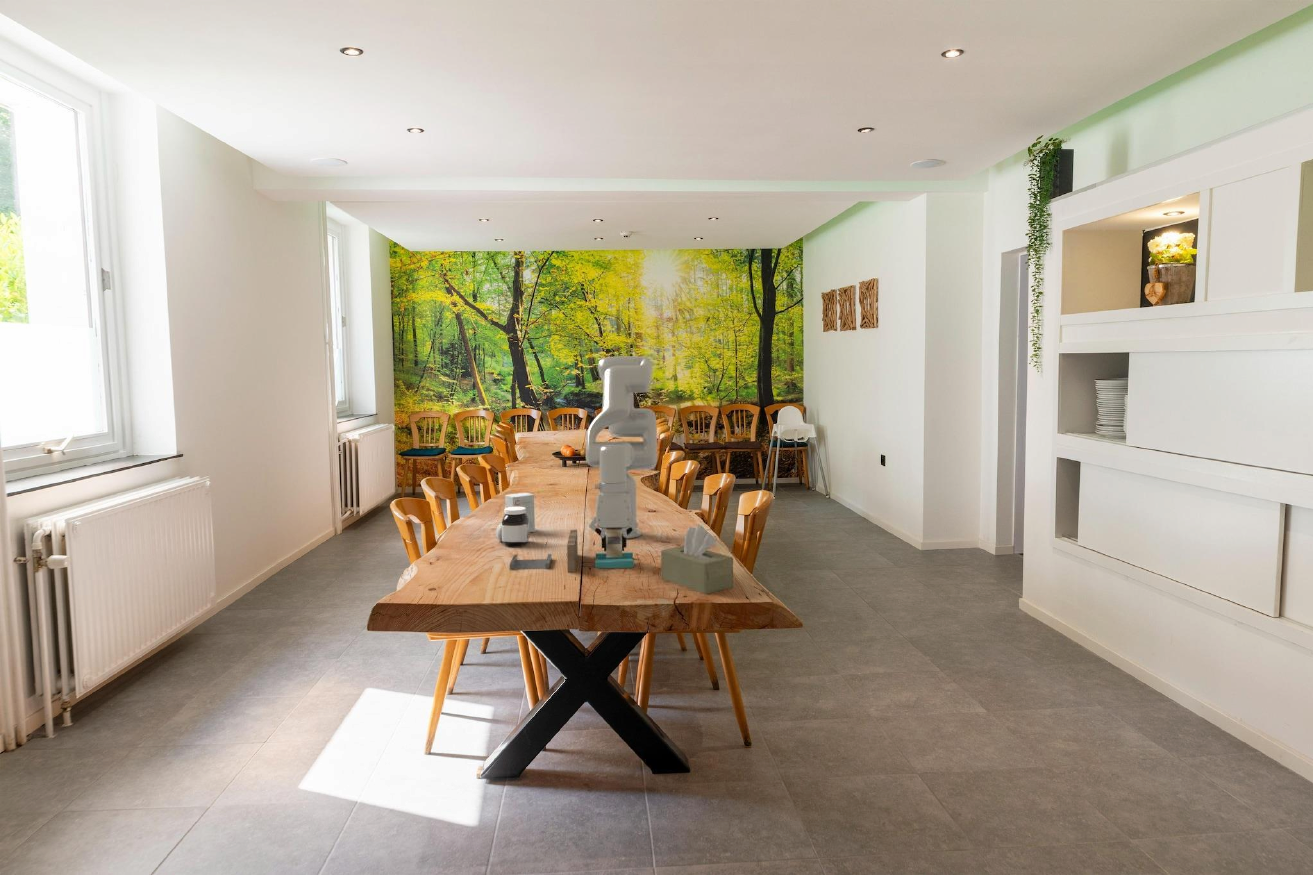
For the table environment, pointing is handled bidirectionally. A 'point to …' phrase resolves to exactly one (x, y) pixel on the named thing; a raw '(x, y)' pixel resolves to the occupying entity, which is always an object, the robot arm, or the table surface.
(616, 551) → the block
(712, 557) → the tissue box
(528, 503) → the small box
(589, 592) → the table surface
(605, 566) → the teal square tray
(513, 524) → the spread jar
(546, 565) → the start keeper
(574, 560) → the door panel
